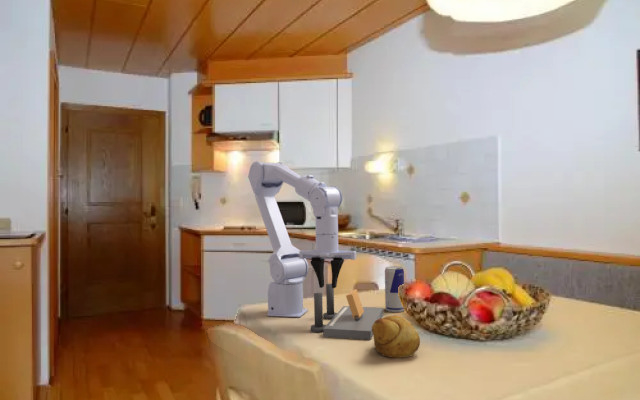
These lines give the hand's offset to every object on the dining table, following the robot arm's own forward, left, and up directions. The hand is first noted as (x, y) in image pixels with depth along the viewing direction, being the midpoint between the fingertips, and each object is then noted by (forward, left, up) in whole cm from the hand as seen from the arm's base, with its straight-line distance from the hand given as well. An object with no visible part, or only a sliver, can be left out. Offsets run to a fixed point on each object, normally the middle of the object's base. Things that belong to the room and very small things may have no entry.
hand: (328, 287), depth 122 cm
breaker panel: (+7, 0, -9) cm, 12 cm away
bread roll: (+19, -17, -10) cm, 27 cm away
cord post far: (-1, +6, -9) cm, 11 cm away
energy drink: (+15, +17, -10) cm, 25 cm away
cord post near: (-1, -6, -9) cm, 11 cm away
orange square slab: (+8, 0, -7) cm, 11 cm away
